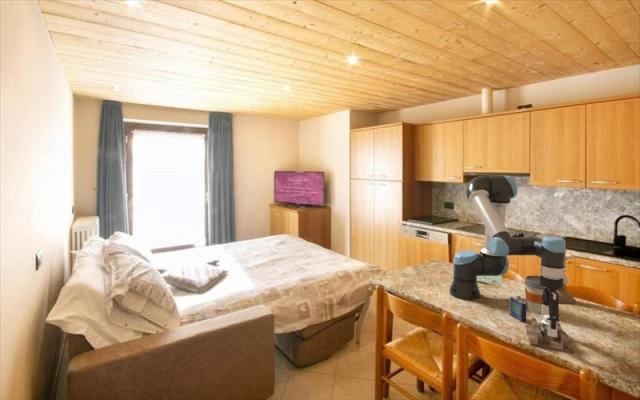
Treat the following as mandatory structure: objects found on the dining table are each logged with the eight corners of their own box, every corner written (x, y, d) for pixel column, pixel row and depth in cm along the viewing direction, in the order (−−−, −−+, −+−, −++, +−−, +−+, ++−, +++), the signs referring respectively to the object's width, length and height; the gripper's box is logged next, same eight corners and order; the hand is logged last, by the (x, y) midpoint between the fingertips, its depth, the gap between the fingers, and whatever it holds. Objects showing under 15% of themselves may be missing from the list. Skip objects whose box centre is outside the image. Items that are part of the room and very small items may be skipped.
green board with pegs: (477, 270, 217) (478, 257, 216) (511, 277, 202) (512, 263, 201) (461, 279, 201) (461, 265, 200) (496, 288, 185) (497, 272, 184)
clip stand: (575, 353, 119) (575, 342, 119) (530, 345, 125) (530, 334, 125) (564, 333, 133) (565, 323, 133) (525, 326, 140) (525, 316, 139)
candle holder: (576, 304, 161) (579, 257, 159) (551, 302, 164) (554, 256, 161) (564, 295, 172) (567, 251, 170) (541, 294, 174) (544, 251, 172)
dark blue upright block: (507, 313, 152) (508, 292, 151) (513, 313, 152) (514, 291, 151) (522, 323, 143) (523, 300, 142) (528, 322, 143) (529, 299, 142)
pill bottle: (540, 332, 133) (542, 313, 132) (555, 336, 130) (556, 316, 129) (540, 337, 129) (542, 317, 128) (555, 341, 126) (556, 320, 125)
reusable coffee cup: (545, 318, 147) (547, 286, 146) (517, 307, 158) (519, 278, 157) (560, 312, 153) (562, 281, 152) (532, 302, 164) (534, 273, 163)
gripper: (571, 288, 114) (567, 345, 116) (556, 268, 136) (553, 316, 138) (546, 285, 117) (542, 341, 119) (535, 266, 140) (532, 313, 142)
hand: (548, 328), depth 129 cm, fingers open, 13 cm apart
